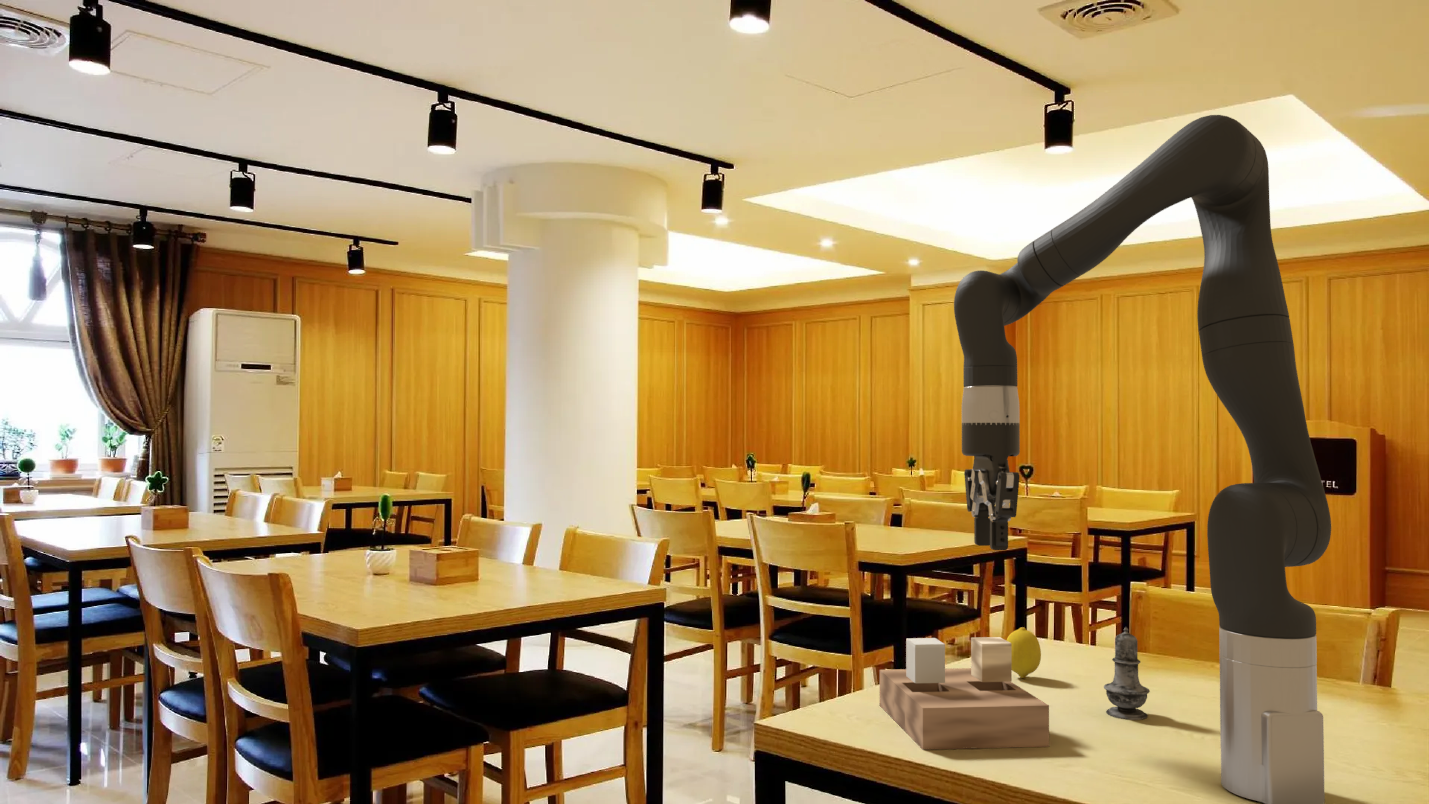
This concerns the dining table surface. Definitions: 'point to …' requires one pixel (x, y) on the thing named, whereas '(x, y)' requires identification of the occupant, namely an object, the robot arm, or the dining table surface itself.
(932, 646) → the peg
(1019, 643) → the lemon
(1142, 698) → the salt shaker
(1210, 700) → the dining table surface
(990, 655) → the peg
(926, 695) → the socket board
